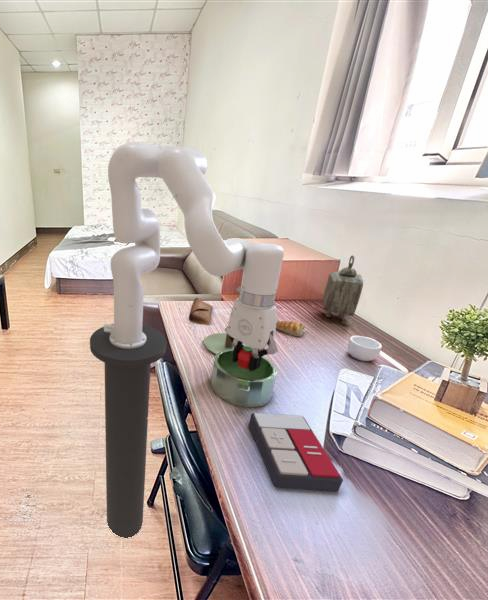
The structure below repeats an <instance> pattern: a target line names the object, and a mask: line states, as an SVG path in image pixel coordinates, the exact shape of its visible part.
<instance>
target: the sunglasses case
mask: <svg viewBox="0 0 488 600" xmlns="http://www.w3.org/2000/svg"><path fill="white" fill-rule="evenodd" d="M213 309H214V306H213V305H211V304H209V303H207V302H205V301H203V300H201V299H200V298H199V297H195V298H194V299H193V302H192V304H191V307H190V311H189V314H188V320H189V321H190V322H191V323H195V324H203V325H209V324H211V315H212V310H213Z"/></svg>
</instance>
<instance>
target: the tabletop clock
mask: <svg viewBox="0 0 488 600" xmlns="http://www.w3.org/2000/svg"><path fill="white" fill-rule="evenodd" d="M354 263H355V255H350V257H349V261H348V266H346V267H344V268H342V269H341V270H340V271H334V272H330V273H329V274H328V277H327V281H326V284H325V285H326V286H325V289H324V292H323V297H322V308H323V309H324V310H325V311H327V312H328V313H326V314H325V317H326V318H331V316H332V313H333V314H339V315H340V317H341V319H342V321H341V324H342V325H343V326H346V325H347V324H348V321H347V320H345V319H346V318H345V316H351V317H354V315H355V314H356V310H357V307H358V304H359V302H360V299H361V295H362V291H363V287H364V279H363V276H362V275H361V274H359V273H357V270H356V269H355V268H353V266H354Z"/></svg>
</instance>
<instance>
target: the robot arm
mask: <svg viewBox="0 0 488 600" xmlns="http://www.w3.org/2000/svg"><path fill="white" fill-rule="evenodd" d="M207 168H208V162H207V158H206V156H205V154H204V153H203V152H202V151H201V150H200V149H197V148H194V147H188V146H180V145H178V146H169V145H162V144H154V143H147V142H138V141H131V142H130V141H129V142H126V143H123V144H121V145H119V146H118V147H117V148H116V149H115V150H114V151H113V153H112V154H111V157H110V158H109V162H108V165H107V176H108V177H107V178H108V184H109V189H110V194H111V214H112V215H111V217H112V229H113V231H112V232H113V235H114V238H115V240H116V241H117V242H119V243H121V244H132V243H134V245H131V246H128V247H124V248H121V249H119V250H117V251H116V252H115V253H114V254H112V257H111V259H110V270H111V275H112V282H113V283H112V284H113V323H112V324H113V325H111V324H110V323H104V324H103V326H102V327H103V328H104V332H109V333H111V334H110V337H109V339H110V342H111V343H112V344H113V345H114V346H116V347H119V348H124V349H133V348H138V347H141V346H143V345H144V344H145V343H146V340H147V337H146V335H145V334H144V333H143V332H142V324H143V323H144V322H143V320H144V286H143V284H142V281H141V276H143V275H146V274H149V273H151V272H153V271H155V270H156V269H157V268H158V266H159V264H160V261H161V225H160V221H159V218H158V215H157V214H156V213H155V212H154V211H153V210H151V209H149V208H142V195H141V190H140V188H139V185H138V183H137V182H136V179H137V178H158V179H162V180H163V182H164V184H165V186H166V188H167V189H168V190H169V192H170V194H171V195H172V198H173V199H174V201H175V202H176V204H177V206H178V207H179V209H180V210H181V212H182V215H183V218H184V229H185V235H186V239H187V243H188V245H189V247H190V249H191V251H192V253H193V255H194V257H195V258H196V259H197V261H198V263H199V264H200V266H201V267H202V269H204V270H205V271H206V272H207V273H208V274H210V275H212V276H215V277H224V276H227V275H229V274H231V273H233V272H235V271H239V270H242V277H241V284H240V286H237V288H236V292H237V293H239V295H238V297H237V298H235V301H234V302H233V305H232V307H231V310H230V314H229V319H228V323H227V326H226V327H225V328H224V331H225V333H227V334H228V335H229V337H230V339H231V341H232V346H233V347H234V350H233V360H232V361H233V362H237V361H238V353H239V351H240V350H242V349H243V347H244V345H242V344H243V343H245V344H247V345H249V346H251V347H253V356H251V358H250V364H249V371H253V370H255V369H258V368H259V367H260V364H261V358H262V356H263V357H265V356H268V355H269V356H270V355H274V354H276V353H278V352H279V349H278V347H277V344H276V342H275V336H276V331H277V328H276V323H277V317H278V316H277V306H276V305H275V301H276V296H277V291H278V287H279V281H280V276H281V270H282V266H283V261H284V255H285V250H284V249H283V247H282V246H281V245H279V244H275V243H269V242H255V241H252V240H247V239H245V238H241V237H231V238H227V239H223V237H222V235H221V234H220V232H219V231H218V229H217V227H216V225H215V222H214V218H213V208H214V205H215V203H216V198H217V195H216V192H215V191H214V189H213V187H212V186H211V184H210V183H209V181H208V180H207V178H206V176H205V174H206V172H207ZM266 346H267V347H266Z"/></svg>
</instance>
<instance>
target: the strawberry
mask: <svg viewBox="0 0 488 600" xmlns="http://www.w3.org/2000/svg"><path fill="white" fill-rule="evenodd" d="M251 356H253V348H251V347H248V346H244V347H243V349H242V350H240V351H239V353H238V366H240V367H241V368H244V369H249V364H250V358H251Z"/></svg>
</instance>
